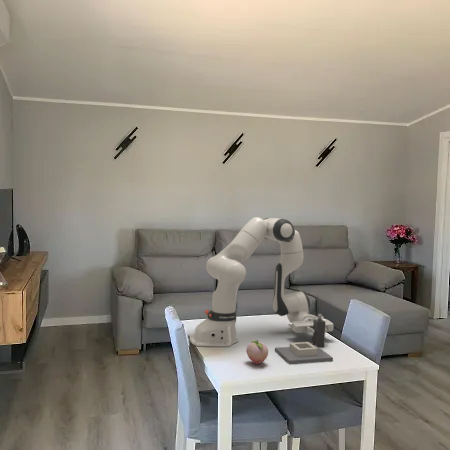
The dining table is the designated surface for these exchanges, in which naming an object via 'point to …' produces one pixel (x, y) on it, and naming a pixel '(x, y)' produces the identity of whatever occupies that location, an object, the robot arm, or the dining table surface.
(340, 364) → the dining table surface
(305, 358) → the socket
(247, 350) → the decorative fruit
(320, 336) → the plug
